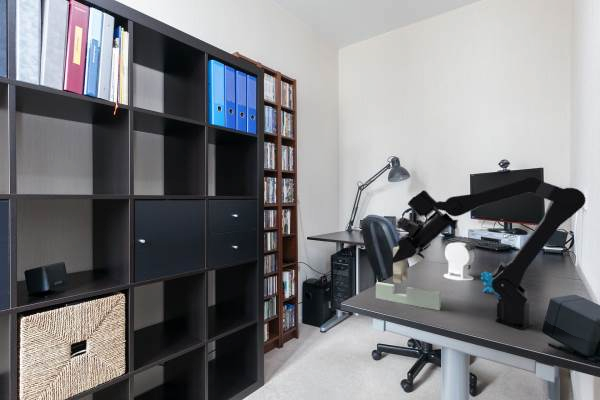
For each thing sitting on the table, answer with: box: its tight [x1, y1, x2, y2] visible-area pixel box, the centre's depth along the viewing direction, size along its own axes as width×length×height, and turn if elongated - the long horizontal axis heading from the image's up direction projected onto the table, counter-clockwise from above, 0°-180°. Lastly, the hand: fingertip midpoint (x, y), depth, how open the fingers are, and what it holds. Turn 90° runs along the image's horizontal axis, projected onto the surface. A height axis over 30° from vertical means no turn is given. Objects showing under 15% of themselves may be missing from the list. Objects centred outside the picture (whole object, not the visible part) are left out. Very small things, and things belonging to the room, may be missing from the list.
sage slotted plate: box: [375, 281, 442, 311], centre depth 101 cm, size 20×2×5 cm, turn 55°
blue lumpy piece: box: [480, 271, 500, 298], centre depth 110 cm, size 11×6×10 cm
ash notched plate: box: [392, 245, 408, 284], centre depth 102 cm, size 7×2×11 cm, turn 144°
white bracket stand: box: [443, 240, 477, 282], centre depth 133 cm, size 12×11×15 cm
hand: (396, 259), depth 103 cm, fingers closed on ash notched plate, 7 cm apart
